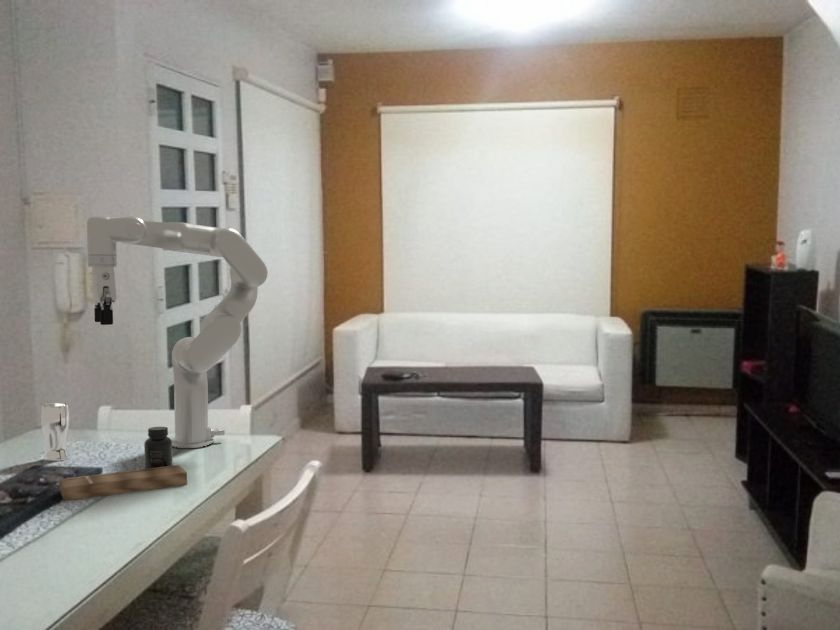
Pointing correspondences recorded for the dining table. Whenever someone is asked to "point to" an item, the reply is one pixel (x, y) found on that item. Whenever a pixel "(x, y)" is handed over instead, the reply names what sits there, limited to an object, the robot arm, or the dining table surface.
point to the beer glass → (55, 430)
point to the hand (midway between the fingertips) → (103, 323)
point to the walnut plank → (122, 482)
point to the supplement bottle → (158, 448)
